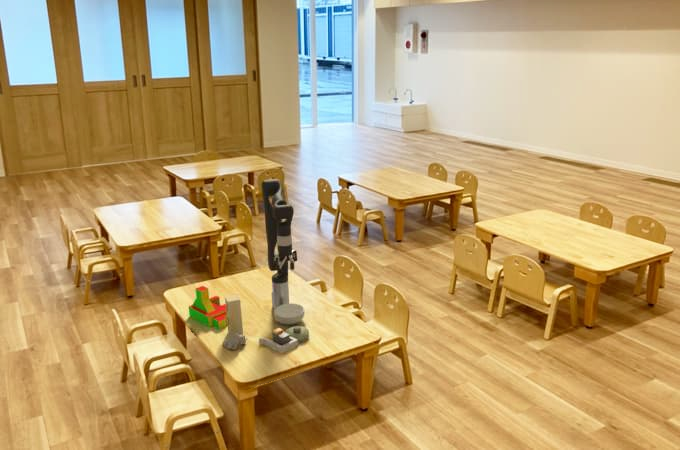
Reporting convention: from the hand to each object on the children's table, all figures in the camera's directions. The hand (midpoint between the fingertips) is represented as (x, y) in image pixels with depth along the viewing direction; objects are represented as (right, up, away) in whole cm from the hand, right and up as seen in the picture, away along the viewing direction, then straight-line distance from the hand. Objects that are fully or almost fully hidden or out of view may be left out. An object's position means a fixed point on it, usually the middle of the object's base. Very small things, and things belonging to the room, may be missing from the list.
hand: (285, 272), depth 315 cm
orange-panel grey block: (-2, -36, -6) cm, 37 cm away
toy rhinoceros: (-25, -38, -7) cm, 45 cm away
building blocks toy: (-41, -28, +25) cm, 55 cm away
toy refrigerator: (-28, -33, +6) cm, 44 cm away
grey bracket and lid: (0, -35, -1) cm, 35 cm away
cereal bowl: (0, -29, +18) cm, 34 cm away
